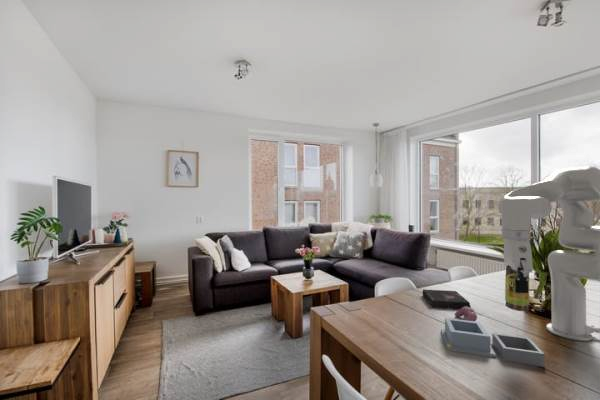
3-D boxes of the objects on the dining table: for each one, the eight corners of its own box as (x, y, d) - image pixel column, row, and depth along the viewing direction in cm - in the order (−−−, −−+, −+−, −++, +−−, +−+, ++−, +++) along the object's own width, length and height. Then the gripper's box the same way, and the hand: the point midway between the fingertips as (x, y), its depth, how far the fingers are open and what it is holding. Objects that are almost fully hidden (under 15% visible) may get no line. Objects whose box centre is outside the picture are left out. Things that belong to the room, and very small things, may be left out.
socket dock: (482, 337, 102) (482, 321, 102) (496, 357, 89) (495, 339, 89) (441, 331, 107) (440, 316, 107) (447, 350, 94) (447, 332, 94)
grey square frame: (528, 349, 94) (528, 337, 94) (544, 367, 84) (544, 353, 84) (492, 344, 97) (492, 333, 97) (503, 360, 87) (503, 348, 87)
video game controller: (472, 330, 111) (481, 315, 111) (461, 324, 112) (470, 309, 111) (463, 320, 121) (471, 306, 120) (453, 314, 122) (460, 301, 121)
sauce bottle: (508, 310, 89) (506, 249, 89) (503, 303, 95) (501, 246, 95) (533, 313, 87) (531, 250, 87) (526, 306, 92) (524, 247, 92)
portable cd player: (471, 311, 128) (470, 302, 128) (431, 308, 131) (431, 300, 131) (457, 298, 144) (457, 291, 144) (422, 296, 147) (422, 289, 147)
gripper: (543, 238, 81) (544, 299, 82) (518, 232, 98) (519, 282, 98) (513, 238, 84) (514, 297, 84) (493, 231, 100) (494, 280, 100)
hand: (517, 288), depth 91 cm, fingers closed on sauce bottle, 6 cm apart
